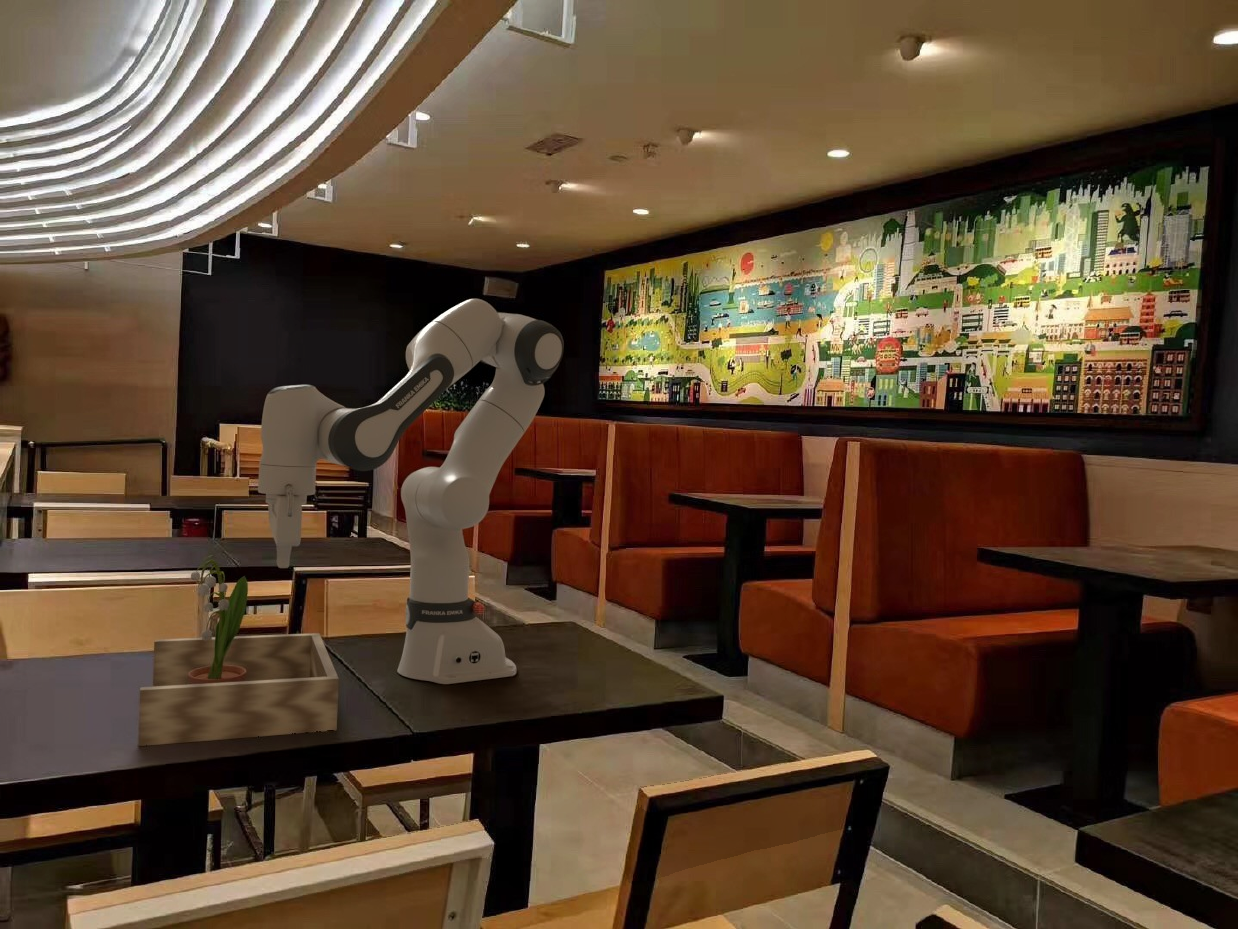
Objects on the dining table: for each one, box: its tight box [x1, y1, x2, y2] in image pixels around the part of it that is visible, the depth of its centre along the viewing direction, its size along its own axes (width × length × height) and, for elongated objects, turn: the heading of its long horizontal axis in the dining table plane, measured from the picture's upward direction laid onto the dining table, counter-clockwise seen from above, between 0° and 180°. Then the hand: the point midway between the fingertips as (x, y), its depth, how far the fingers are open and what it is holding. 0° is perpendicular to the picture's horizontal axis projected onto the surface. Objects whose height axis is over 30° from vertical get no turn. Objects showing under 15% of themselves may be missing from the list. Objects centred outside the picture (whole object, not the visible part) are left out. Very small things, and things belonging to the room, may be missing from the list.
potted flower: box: [188, 555, 249, 685], centre depth 147 cm, size 12×10×25 cm
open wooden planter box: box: [137, 632, 340, 747], centre depth 149 cm, size 27×31×8 cm
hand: (282, 566), depth 151 cm, fingers closed
